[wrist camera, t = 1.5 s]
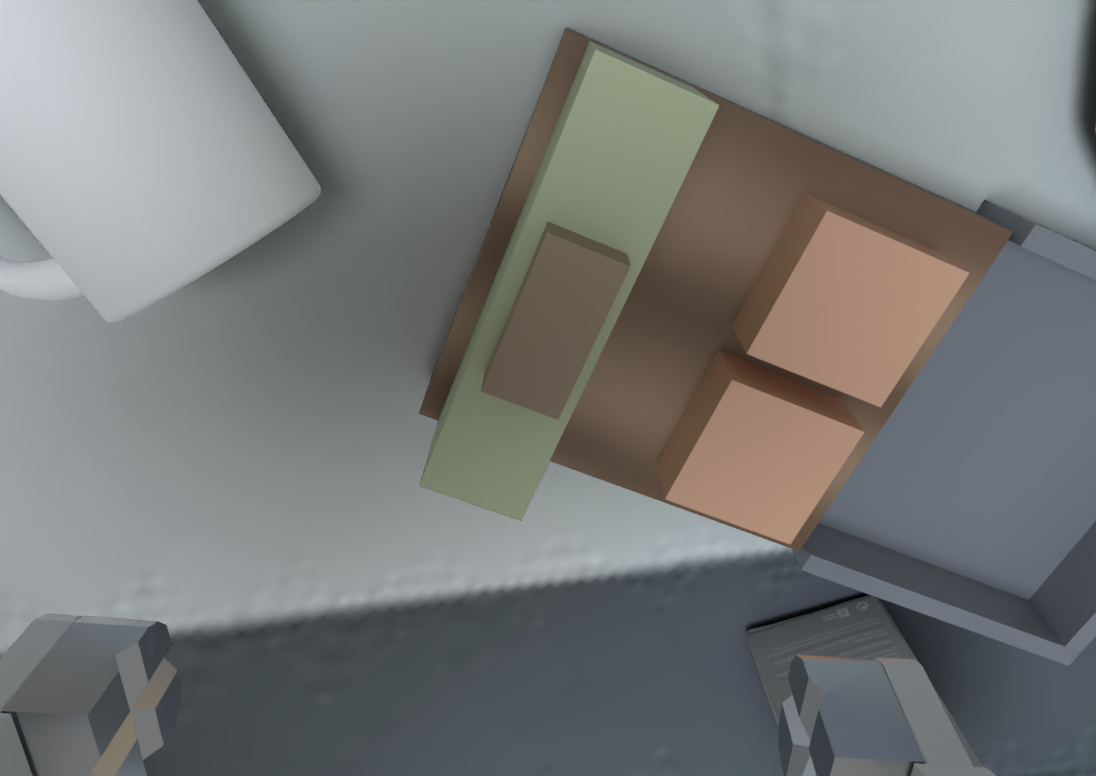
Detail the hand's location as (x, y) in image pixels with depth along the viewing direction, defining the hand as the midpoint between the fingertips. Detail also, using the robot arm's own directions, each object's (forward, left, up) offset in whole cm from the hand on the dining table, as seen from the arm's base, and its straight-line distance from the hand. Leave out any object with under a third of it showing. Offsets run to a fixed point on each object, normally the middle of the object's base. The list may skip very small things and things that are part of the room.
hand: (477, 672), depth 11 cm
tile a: (-3, -10, -19) cm, 21 cm away
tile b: (+3, -10, -19) cm, 21 cm away
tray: (0, -21, -22) cm, 30 cm away
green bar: (0, -1, -19) cm, 19 cm away
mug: (-2, +15, -22) cm, 26 cm away
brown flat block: (0, -6, -22) cm, 23 cm away
